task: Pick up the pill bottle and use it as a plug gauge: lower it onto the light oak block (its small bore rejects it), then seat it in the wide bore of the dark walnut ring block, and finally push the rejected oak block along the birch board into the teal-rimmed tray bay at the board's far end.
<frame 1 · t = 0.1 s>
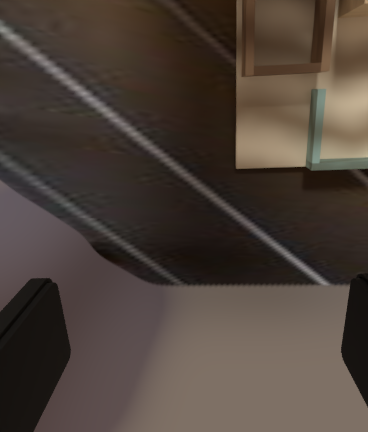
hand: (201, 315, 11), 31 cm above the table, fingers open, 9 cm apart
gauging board: (321, 52, 36), on the table
walnut ring block: (281, 32, 34), point 1 cm above the table, touching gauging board
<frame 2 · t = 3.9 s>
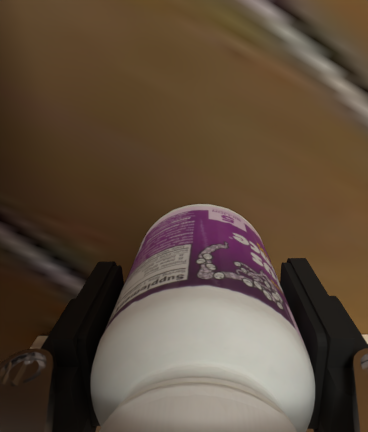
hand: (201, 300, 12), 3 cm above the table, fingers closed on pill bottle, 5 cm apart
pill bottle: (201, 256, 15), on the table, touching gripper
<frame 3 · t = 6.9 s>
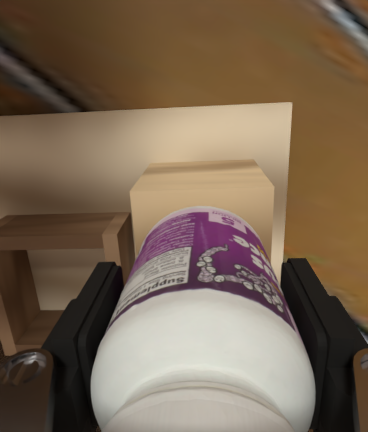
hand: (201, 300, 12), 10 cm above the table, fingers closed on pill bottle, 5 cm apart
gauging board: (148, 288, 24), on the table
walnut ring block: (77, 269, 23), point 1 cm above the table, touching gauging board
oak block: (202, 209, 21), point 1 cm above the table, touching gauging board
pill bottle: (202, 258, 15), point 7 cm above the table, touching gripper
when the fingers open (5 cm above the table, at t = 10.0 s): pill bottle drops 1 cm, resting on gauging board.
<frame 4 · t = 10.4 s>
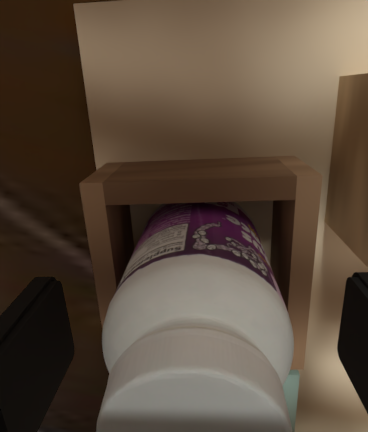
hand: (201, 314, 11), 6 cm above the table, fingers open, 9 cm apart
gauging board: (292, 272, 17), on the table
walnut ring block: (201, 244, 16), point 1 cm above the table, touching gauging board
pill bottle: (199, 240, 16), point 1 cm above the table, touching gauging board
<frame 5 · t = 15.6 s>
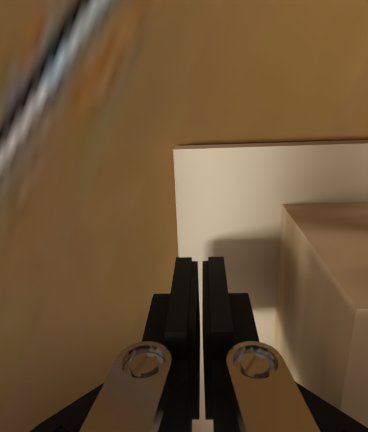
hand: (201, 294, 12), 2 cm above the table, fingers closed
oak block: (359, 278, 13), point 1 cm above the table, touching gripper
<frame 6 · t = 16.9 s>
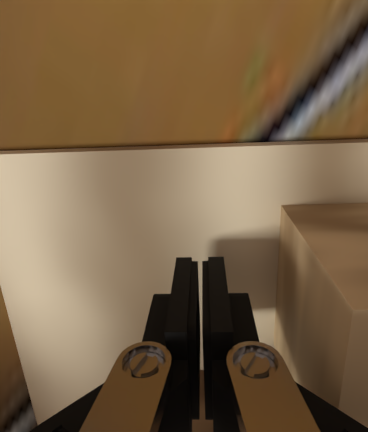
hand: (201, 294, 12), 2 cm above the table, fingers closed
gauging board: (292, 347, 15), on the table
oak block: (358, 278, 13), point 1 cm above the table, touching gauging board, gripper
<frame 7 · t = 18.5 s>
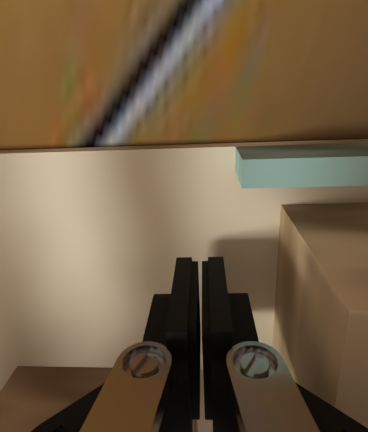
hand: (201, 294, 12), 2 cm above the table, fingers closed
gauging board: (151, 346, 15), on the table
walnut ring block: (114, 431, 16), point 1 cm above the table, touching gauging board
oak block: (358, 279, 13), point 1 cm above the table, touching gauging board, gripper
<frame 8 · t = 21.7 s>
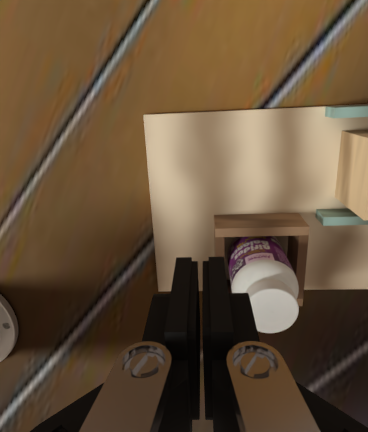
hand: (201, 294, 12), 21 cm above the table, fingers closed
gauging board: (275, 205, 33), on the table
walnut ring block: (254, 251, 33), point 1 cm above the table, touching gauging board
pill bottle: (253, 251, 34), point 1 cm above the table, touching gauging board
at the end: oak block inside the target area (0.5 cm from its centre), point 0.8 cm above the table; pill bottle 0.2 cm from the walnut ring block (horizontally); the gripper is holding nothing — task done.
